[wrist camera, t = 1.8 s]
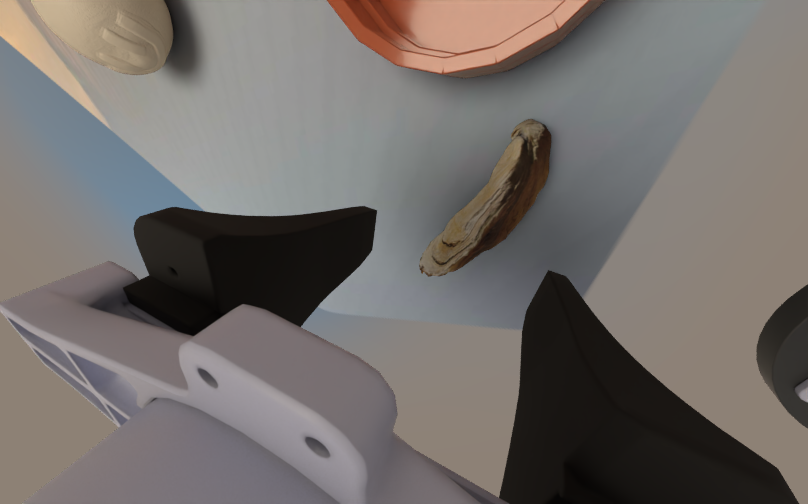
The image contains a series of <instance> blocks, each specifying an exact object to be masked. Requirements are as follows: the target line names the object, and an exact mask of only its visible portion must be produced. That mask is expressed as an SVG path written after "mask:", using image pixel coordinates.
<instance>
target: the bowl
mask: <svg viewBox="0 0 808 504" xmlns="http://www.w3.org/2000/svg"><path fill="white" fill-rule="evenodd" d="M327 1H328V2H329V4H330V5H331V6H332V8H333V9H334V10H335V12H336V13H337V14H338V15H339V17H340V18H341V19H342V21H343V22H344V23H345V24H346V26H347V27H348V28H349V30H350V31H351V32H352V33H353V35H354V36H355V37H356V39H358V41H360V42H361V43H363V44H364V45H366V46H367V47H369V48H370V49H372V50H373V51H375V52H376V53H378V54H379V55H381V56H382V57H384V58H386V59H387V60H389V61H390V62H392V63H393V64H395V65H397V66H400V67H405V68H411V69H416V70H421V71H426V72H431V73H436V74H441V75H447V76H452V77H457V78H465V79H466V78H471V77H477V76H483V75H488V74H494V73H499V72H505V71H507V70H511V69H512V68H514V67H516V66H518V65H520V64H522V63H524V62H526V61H527V60H529V59H531V58H533V57H535V56H537V55H539V54H541V53H542V52H544V51H546V50H548V49H550V48H552V47H554V46H555V45H556V44H558V43H559V42H560V41H561V40H562V39H563V38H565V37H566V36H567V35H568V34H569V33H570V32H571V31H572V30H573V29H574V28H575V27H577V26H578V25H579V24H580V23H581V22H582V21H583V20H584V19H585V18H586V17H587V16H589V15H590V14H591V13H592V12H593V11H594V10H595V9H596V8H597V7H598V6H599V5H601V4H602V3H603V2H604V1H605V0H327Z"/></svg>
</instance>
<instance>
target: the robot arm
mask: <svg viewBox="0 0 808 504" xmlns="http://www.w3.org/2000/svg"><path fill="white" fill-rule="evenodd" d="M376 215H377V210H374V209H371V208H368V207H365V206H359V207H350V208H344V209H338V210H332V211H326V212H318V213H311V214H303V215H291V216H242V215H229V214H219V213H211V212H204V211H197V210H191V209H184V208H179V207H171V208H167V209H163V210H160V211H157V212H154V213H150V214H147V215H143V216H140V217H139V218H138V219H137V220H136V222H135V225H134V236H135V239H136V242H137V246H138V248H139V251H140V253H141V256H142V258H143V261H144V263H145V266H146V268H147V270H148V273H149V276H147V277H145V278H143V279H141V280H139V279H138V278H137V277H136V276H135V275H134V274H133V273H132V272H130V271H128V270H126V269H125V268H123V267H121V266H119V265H117V264H116V263H114V262H110V261H107V262H105V263H102V264H99V265H97V266H94V267H92V268H89V269H86V270H84V271H81V272H78V273H76V274H73V275H71V276H68V277H65V278H63V279H60V280H58V281H55V282H52V283H50V284H47V285H44V286H42V287H39V288H36V289H34V290H31V291H28V292H26V293H23V294H21V295H18V296H15V297H13V298H10V299H8V300H5V301H2V302H0V312H1V313H2V314H3V315H4V317H5V318H6V319H7V320H8V321H9V323H10V324H11V325H12V326H13V327H14V329H15V330H16V331H17V332H18V334H19V335H20V336H21V337H22V338H23V339H24V341H25V342H26V343H27V344H28V346H29V347H30V348H31V349H32V350H33V352H34V353H35V354H36V355H37V357H38V358H39V359H40V360H41V361H42V362H43V364H44V365H46V366H47V367H48V368H49V369H50V370H52V371H53V372H54V373H55V374H57V375H58V376H59V377H61V378H62V379H63V380H64V381H65V382H67V383H68V384H69V385H70V386H72V387H73V388H74V389H75V390H76V391H78V392H79V393H80V394H81V395H82V396H84V397H85V398H86V399H87V400H88V401H89V402H90V403H92V404H93V405H94V406H95V407H96V408H97V409H99V410H100V411H101V412H102V413H103V414H104V415H106V416H107V417H108V418H109V419H110V420H111V421H112V422H113V423H115V424H116V425H117V426H118V427H119V428H118V429H116V430H115V431H114V432H113V433H111V434H110V435H109V436H107V437H106V438H105V439H103V440H102V441H101V442H100V443H98V444H97V445H96V446H95V447H93V448H92V449H91V450H89V451H88V452H87V453H85V454H84V455H83V456H82V457H81V458H79V459H78V460H76V461H75V462H74V463H73V464H71V465H70V466H69V467H67V468H66V469H65V470H64V471H62V472H61V473H60V474H59V475H57V476H56V477H55V478H53V479H52V480H51V481H50V482H48V483H47V484H46V485H44V486H43V487H42V488H41V489H39V490H38V491H37V492H36V493H34V494H33V495H32V496H30V497H29V498H28V499H26V500H25V501H24V502H23V503H21V504H799V503H798V501H797V499H796V498H795V496H794V494H793V493H792V491H791V489H790V488H789V486H788V485H787V483H786V481H785V480H784V478H783V476H782V475H781V473H780V471H779V470H778V469H777V468H776V467H775V466H773V465H772V464H771V463H769V462H768V461H766V460H765V459H763V458H762V457H761V456H759V455H757V454H756V453H755V452H753V451H752V450H750V449H749V448H748V447H746V446H745V445H743V444H742V443H740V442H739V441H737V440H736V439H734V438H733V437H731V436H730V435H729V434H727V433H726V432H724V431H722V430H721V429H720V428H718V427H717V426H716V425H714V424H713V423H712V422H710V421H709V420H708V419H706V418H705V417H704V416H702V415H701V414H700V413H699V412H697V411H696V410H694V409H693V408H692V407H691V406H689V405H688V404H687V403H685V402H684V401H683V400H682V399H680V398H679V397H678V396H677V395H675V394H674V393H673V392H672V391H670V390H669V389H668V388H667V387H665V386H664V385H663V384H662V383H661V382H660V381H659V380H657V379H656V378H655V377H654V376H653V375H652V374H651V373H650V372H648V371H647V370H646V369H645V368H644V367H643V366H642V365H641V364H640V363H639V362H637V361H636V360H635V359H634V358H633V357H632V356H631V355H630V354H629V353H628V352H627V351H626V350H625V349H624V348H623V347H622V346H621V345H620V344H619V342H618V341H617V340H616V339H615V338H614V337H613V336H612V335H611V334H610V333H609V332H608V330H607V329H606V328H605V327H604V325H603V324H602V323H601V322H600V321H599V320H598V318H597V317H596V316H595V315H594V313H593V312H592V311H591V309H590V308H589V307H588V305H587V304H586V303H585V301H584V300H583V299H582V297H581V296H580V294H579V293H578V292H577V290H576V289H575V287H574V286H573V285H572V283H571V282H570V281H569V279H568V278H567V277H566V276H564V275H561V274H558V273H555V272H552V271H549V270H548V272H547V273H546V275H545V277H544V279H543V281H542V283H541V285H540V286H539V288H538V290H537V292H536V294H535V296H534V297H533V299H532V301H531V303H530V305H529V307H528V309H527V311H526V315H525V320H524V325H523V330H522V345H521V369H520V388H519V396H518V402H517V409H516V415H515V421H514V427H513V432H512V437H511V443H510V448H509V453H508V458H507V463H506V468H505V473H504V478H503V482H502V487H501V491H500V496H499V498H498V497H496V496H495V495H493V494H491V493H489V492H488V491H486V490H484V489H482V488H481V487H479V486H477V485H475V484H474V483H472V482H470V481H468V480H467V479H465V478H463V477H461V476H460V475H458V474H456V473H455V472H453V471H451V470H449V469H448V468H446V467H444V466H442V465H441V464H439V463H437V462H435V461H434V460H432V459H430V458H428V457H426V456H425V455H423V454H421V453H420V452H418V451H416V450H414V449H413V448H412V447H411V446H410V445H408V444H407V443H406V442H405V441H404V440H402V439H401V438H400V437H399V436H397V435H396V434H395V433H394V432H393V428H394V425H395V421H396V418H397V407H396V400H395V395H394V393H393V390H392V389H391V388H390V386H389V385H388V383H387V382H386V381H385V379H384V378H383V377H382V375H381V374H380V373H379V371H377V370H376V369H374V368H373V367H372V366H370V365H369V364H368V363H366V362H365V361H363V360H362V359H361V358H359V357H358V356H356V355H354V354H352V353H350V352H348V351H345V350H344V349H342V348H340V347H338V346H336V345H334V344H332V343H330V342H328V341H326V340H324V339H322V338H320V337H319V336H317V335H315V334H313V333H311V332H309V331H307V330H305V329H303V328H301V326H302V325H303V323H304V322H305V321H306V319H307V318H308V317H309V316H310V315H311V314H312V312H313V311H314V310H315V309H316V308H317V307H318V305H319V304H320V303H321V302H322V301H323V300H324V299H325V298H326V297H327V296H328V295H329V294H330V293H331V292H332V291H333V290H334V289H335V288H337V287H338V286H339V285H340V284H341V283H342V282H343V281H344V280H345V279H346V278H347V277H348V276H350V275H351V274H352V273H353V272H354V271H355V270H356V269H357V268H358V267H359V266H360V265H361V264H362V263H363V261H364V260H365V259H366V258H367V256H368V255H369V254H370V252H371V251H372V247H373V239H374V231H375V223H376ZM795 392H796V394H797V395H798V396H799V397H800V399H801V400H803V401H805V402H808V379H807V380H805V381H804V382H802V383H801V384H799V385H798V386H796V388H795Z"/></svg>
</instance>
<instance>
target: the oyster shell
mask: <svg viewBox="0 0 808 504" xmlns="http://www.w3.org/2000/svg"><path fill="white" fill-rule="evenodd" d="M511 138H512V142H511V143H510V144H509V146H508V147H507V148H506V150H505V152H504V153H503V155H502V157H501V158H500V160H499V161H498V163H497V165H496V166H495V168H494V170H493V172H492V175H491V178H490V180H489V182H488V184H487V185H486V186H485V187H484V188H483V189H482V190H481V191H480V192H479V193H478V194H477V196H476V197H475V198H474V199H473V200H471V201H470V202H469V203H468V204H467V205H466V206H465V207H464V208H463V209H461V210H460V211H459V212H458V213H457V214H456V215H455V216H454V217H453V218H452V219H451V220H450V221H449V222H448V224H447V226H446V228H445V230H444V231H443V232H442V233H441V234H440V235H439V236H437V237H436V238H435V239H433V240H432V241H431V242H430V244H429V246H428V247H427V249H426V250H425V251H424V253H423V255H422V257H421V259H420V265H419V267H420V270H421V273H423V272H425V273H426V274H427V275H428V276H442V275H446V274H447V273H448V272H453V271H456V270H458V269H460V268H461V267H463V266H464V265H465V264H467V263H468V262H469V261H471V260H473V259H474V258H475V257H476V256H478V255H479V254H480V253H482V252H484V251H486V250H489V249H492V248H493V247H495V246H496V245H497V244H499V243H500V242H501V241H503V240H504V239H506V237H507V235H508V234H509V233H510V232H511V231H512V230H513V229H514V228H515V227H516V225H517V224H518V223H519V222H520V221H521V219H522V218H523V217H524V215H525V214H526V212H527V211H528V210H529V209H530V207H531V206H532V205H533V204H534V202H535V200H536V197H537V195H538V193H539V192H540V191H541V189H542V188H543V187H544V185H545V182H546V180H547V177H548V173H549V157H550V148H551V134H550V132H549V131H548V129H547V127H546V126H545V125H544V124H541V123H539V122H537V121H534V120H533V119H528V120H526V121H524V122H522V123H520V124H519V125H517V126H516V127H515V129H514V131H513V132H512V134H511Z"/></svg>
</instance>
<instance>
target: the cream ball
mask: <svg viewBox="0 0 808 504" xmlns="http://www.w3.org/2000/svg"><path fill="white" fill-rule="evenodd" d="M31 2H32V4H33V6H34V8H35V9H36V11H37V13H38V14H39V16H40V17H41V18H42V20H43V21H44V22H45V24H46V25H47V26H48V27H49V28H50V30H51V31H52V32H53V33H54V34H55V35H56V36H57V37H59V38H60V39H61V40H62V41H63V42H64V43H66V44H67V45H68V46H69V47H71V48H72V49H74V50H75V51H77V52H78V53H80V54H81V55H83V56H85V57H87V58H89V59H90V60H92V61H94V62H96V63H99V64H101V65H103V66H106V67H108V68H110V69H112V70H114V71H117V72H120V73H123V74H129V75H144V74H149V73H153V72H155V71H158V70H159V69H161V68H162V67H163V65H164V64H165V61H166V58H167V56H168V54H169V52H170V49H171V46H172V42H173V27H172V23H171V17H170V14H169V11H168V8H167V6H166V4H165V2H164V0H31Z"/></svg>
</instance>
